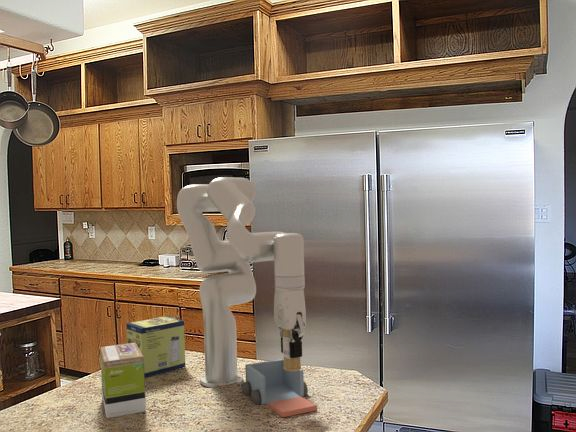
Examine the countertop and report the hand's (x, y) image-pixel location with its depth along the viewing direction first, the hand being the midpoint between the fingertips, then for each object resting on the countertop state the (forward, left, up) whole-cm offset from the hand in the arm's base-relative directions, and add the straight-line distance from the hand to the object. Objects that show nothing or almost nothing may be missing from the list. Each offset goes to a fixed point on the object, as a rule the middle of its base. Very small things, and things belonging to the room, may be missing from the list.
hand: (291, 354), depth 133 cm
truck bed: (-12, 0, -15) cm, 19 cm away
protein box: (-52, -24, -15) cm, 59 cm away
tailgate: (-5, 0, -14) cm, 15 cm away
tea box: (-25, -38, -15) cm, 48 cm away
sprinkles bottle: (0, 0, -4) cm, 4 cm away
